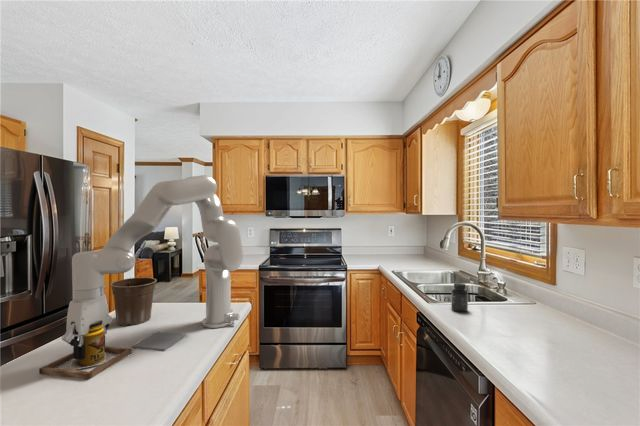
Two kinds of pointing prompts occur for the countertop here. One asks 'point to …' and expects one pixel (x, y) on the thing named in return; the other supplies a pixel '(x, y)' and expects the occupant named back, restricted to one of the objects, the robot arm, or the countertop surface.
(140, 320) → the plant pot
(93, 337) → the condiment
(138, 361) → the countertop surface
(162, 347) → the mat
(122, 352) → the wooden square frame
